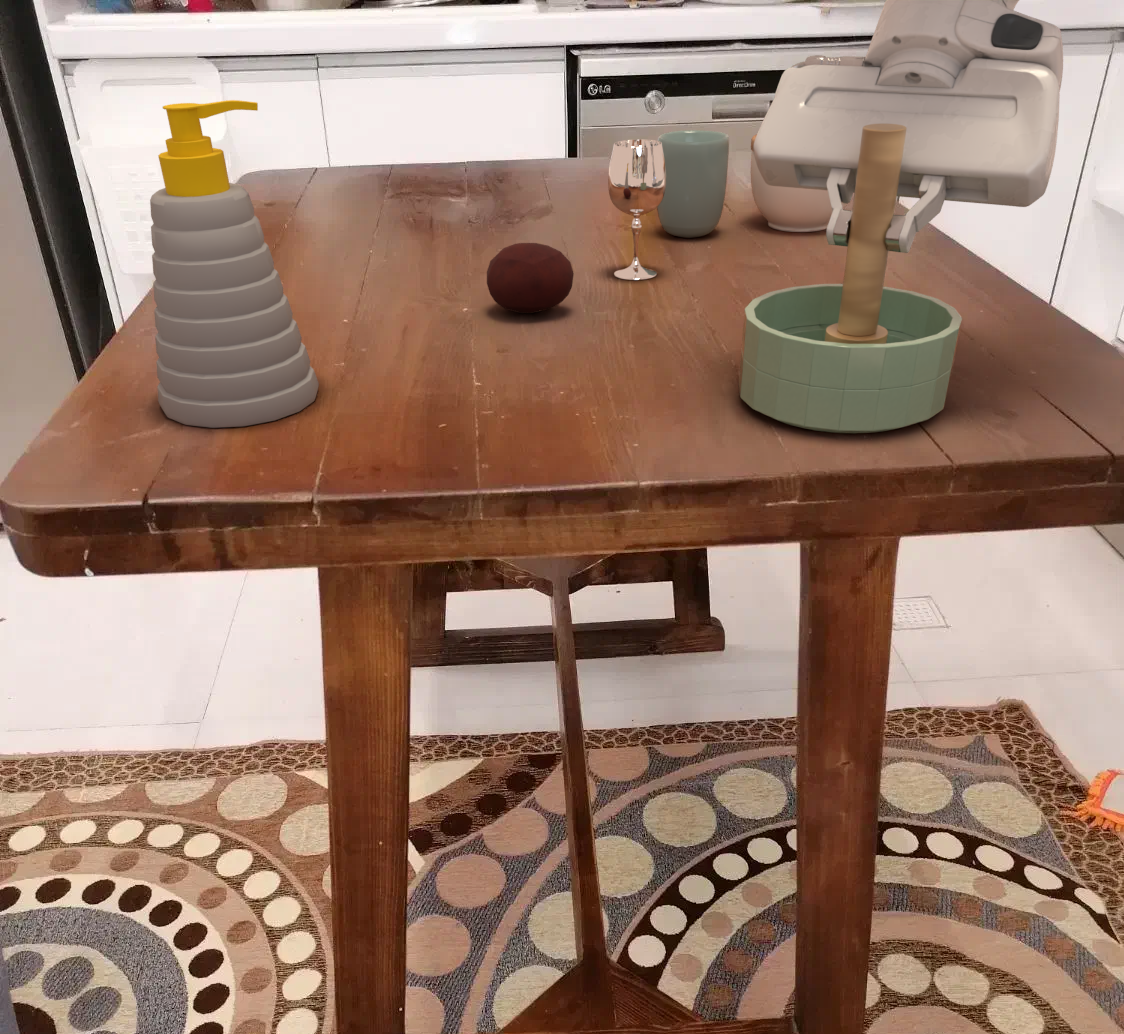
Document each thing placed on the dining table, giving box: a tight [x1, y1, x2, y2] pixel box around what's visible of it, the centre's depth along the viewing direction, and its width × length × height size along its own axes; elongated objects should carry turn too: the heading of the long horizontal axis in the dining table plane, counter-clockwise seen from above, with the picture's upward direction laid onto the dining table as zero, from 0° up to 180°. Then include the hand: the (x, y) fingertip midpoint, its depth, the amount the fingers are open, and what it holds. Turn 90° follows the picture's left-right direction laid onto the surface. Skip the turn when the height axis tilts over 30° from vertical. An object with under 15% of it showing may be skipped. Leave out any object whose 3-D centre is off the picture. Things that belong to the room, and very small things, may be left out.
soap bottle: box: [149, 99, 320, 429], centre depth 81 cm, size 12×12×20 cm
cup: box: [656, 129, 730, 239], centre depth 124 cm, size 8×8×10 cm
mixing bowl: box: [738, 283, 963, 434], centre depth 82 cm, size 15×15×6 cm
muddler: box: [825, 124, 907, 344], centre depth 77 cm, size 4×4×16 cm
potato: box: [486, 242, 575, 314], centre depth 102 cm, size 7×8×6 cm
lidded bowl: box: [750, 133, 848, 233], centre depth 126 cm, size 13×13×11 cm
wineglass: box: [607, 138, 667, 281], centre depth 110 cm, size 6×6×12 cm
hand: (866, 244), depth 75 cm, fingers closed on muddler, 3 cm apart
